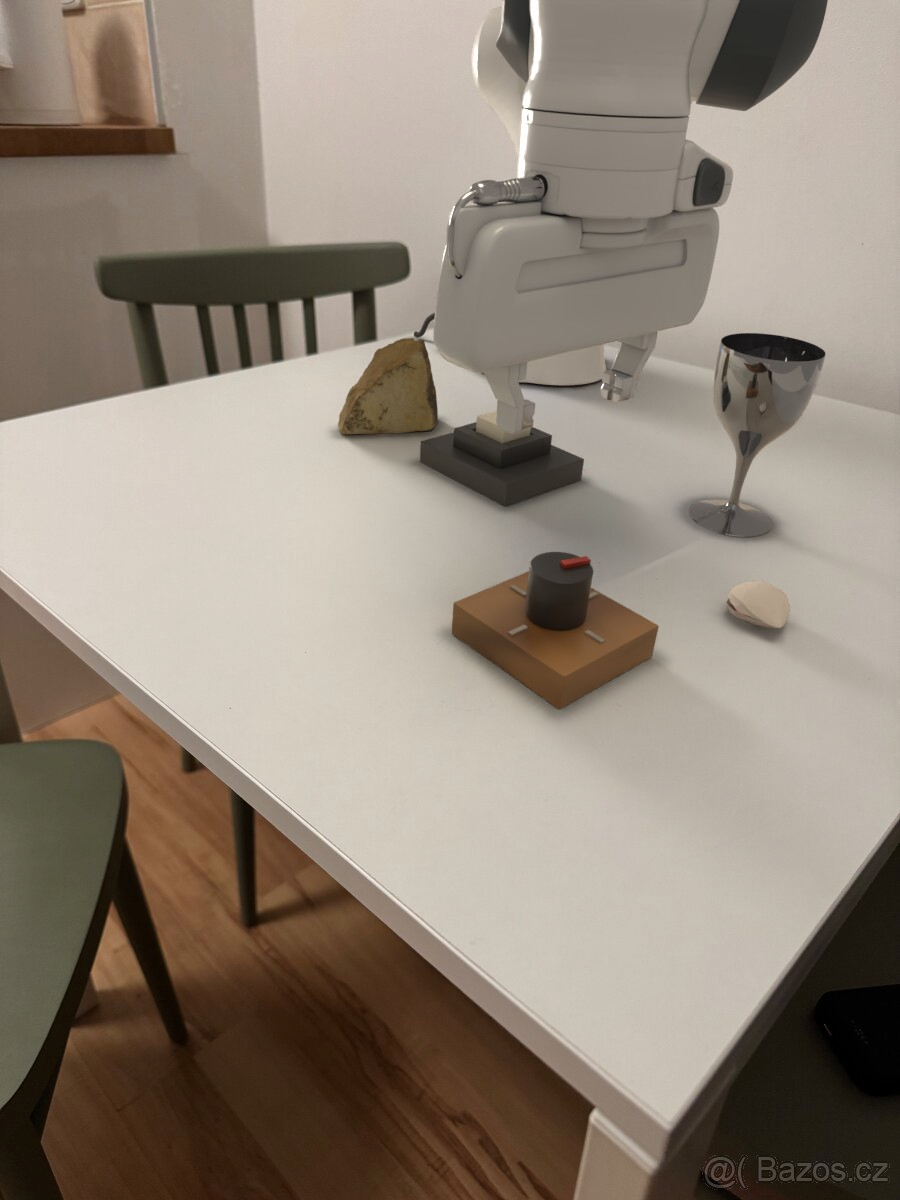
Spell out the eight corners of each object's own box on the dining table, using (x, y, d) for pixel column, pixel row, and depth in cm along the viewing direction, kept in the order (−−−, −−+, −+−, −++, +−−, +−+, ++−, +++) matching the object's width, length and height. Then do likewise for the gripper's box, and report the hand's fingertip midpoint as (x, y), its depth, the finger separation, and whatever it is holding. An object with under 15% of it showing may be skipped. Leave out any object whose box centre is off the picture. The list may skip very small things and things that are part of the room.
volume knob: (543, 635, 52) (550, 583, 50) (513, 603, 56) (519, 552, 53) (597, 623, 54) (606, 572, 52) (566, 592, 57) (573, 543, 55)
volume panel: (451, 633, 57) (453, 600, 55) (543, 592, 62) (547, 560, 60) (559, 709, 50) (564, 674, 49) (652, 656, 55) (659, 623, 54)
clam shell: (769, 602, 62) (778, 573, 61) (803, 641, 58) (813, 610, 57) (715, 605, 61) (722, 575, 60) (745, 644, 57) (754, 613, 56)
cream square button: (475, 433, 78) (476, 415, 77) (503, 426, 80) (504, 408, 79) (501, 445, 76) (503, 427, 75) (529, 437, 78) (531, 419, 77)
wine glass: (666, 504, 76) (700, 335, 68) (737, 493, 78) (778, 330, 70) (720, 544, 69) (765, 364, 61) (796, 531, 72) (848, 357, 64)
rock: (321, 423, 82) (421, 420, 80) (325, 338, 83) (423, 333, 81) (354, 453, 93) (442, 451, 91) (356, 378, 94) (444, 374, 92)
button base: (419, 462, 81) (420, 422, 79) (494, 440, 87) (497, 403, 85) (505, 507, 74) (509, 464, 71) (581, 480, 79) (587, 440, 77)
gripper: (495, 191, 38) (477, 469, 46) (751, 171, 50) (703, 397, 57) (411, 174, 42) (408, 432, 50) (666, 159, 54) (632, 372, 61)
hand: (567, 413), depth 54 cm, fingers open, 8 cm apart
